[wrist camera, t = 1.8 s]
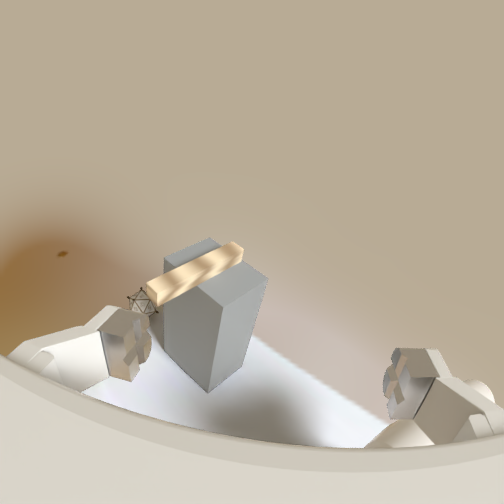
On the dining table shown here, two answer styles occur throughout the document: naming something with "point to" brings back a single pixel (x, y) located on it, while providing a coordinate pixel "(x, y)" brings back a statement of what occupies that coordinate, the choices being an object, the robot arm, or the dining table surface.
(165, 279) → the wooden bar
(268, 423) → the dining table surface
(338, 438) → the dining table surface
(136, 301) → the dark-edged faceted part
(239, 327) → the stand
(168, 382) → the dining table surface
